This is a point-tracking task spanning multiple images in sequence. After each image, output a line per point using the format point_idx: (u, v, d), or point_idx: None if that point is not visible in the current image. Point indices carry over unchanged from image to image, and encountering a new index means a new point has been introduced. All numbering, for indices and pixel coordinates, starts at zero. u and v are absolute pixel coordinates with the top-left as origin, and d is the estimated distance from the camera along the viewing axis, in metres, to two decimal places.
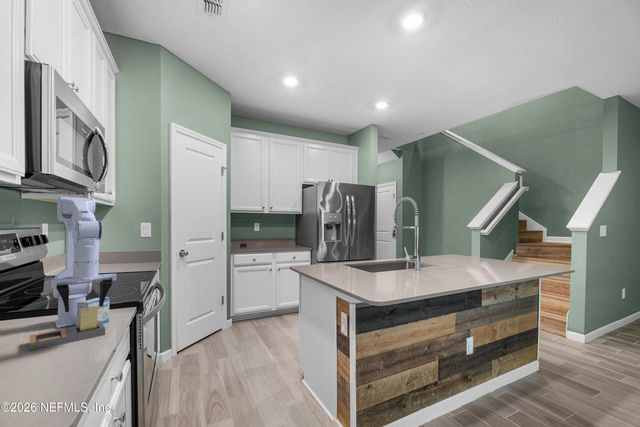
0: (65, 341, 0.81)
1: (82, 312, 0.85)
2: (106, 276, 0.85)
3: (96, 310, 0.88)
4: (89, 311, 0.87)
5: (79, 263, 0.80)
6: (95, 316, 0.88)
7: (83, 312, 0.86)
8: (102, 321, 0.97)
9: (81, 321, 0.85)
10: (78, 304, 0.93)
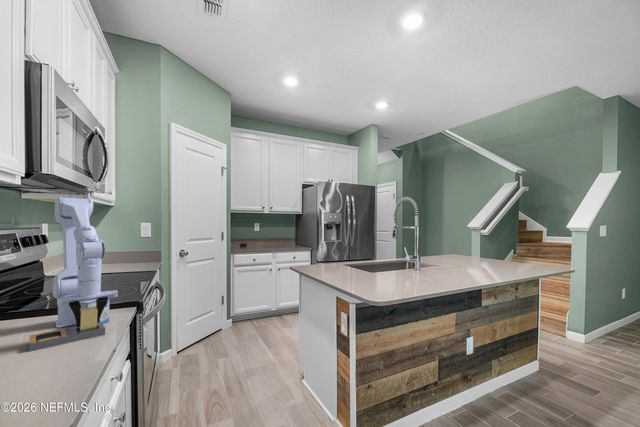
0: (65, 341, 0.81)
1: (82, 312, 0.85)
2: (108, 293, 0.91)
3: (96, 310, 0.88)
4: (89, 311, 0.87)
5: (83, 282, 0.86)
6: (95, 316, 0.88)
7: (83, 312, 0.86)
8: (102, 321, 0.97)
9: (81, 321, 0.85)
10: None
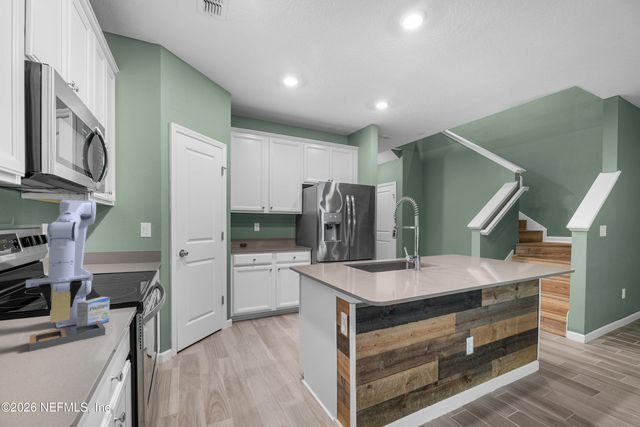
0: (65, 341, 0.81)
1: (53, 295, 0.81)
2: (82, 276, 0.86)
3: (69, 294, 0.83)
4: (61, 295, 0.82)
5: (54, 263, 0.81)
6: (68, 300, 0.83)
7: (54, 295, 0.81)
8: (102, 321, 0.97)
9: (52, 305, 0.81)
10: (78, 304, 0.93)
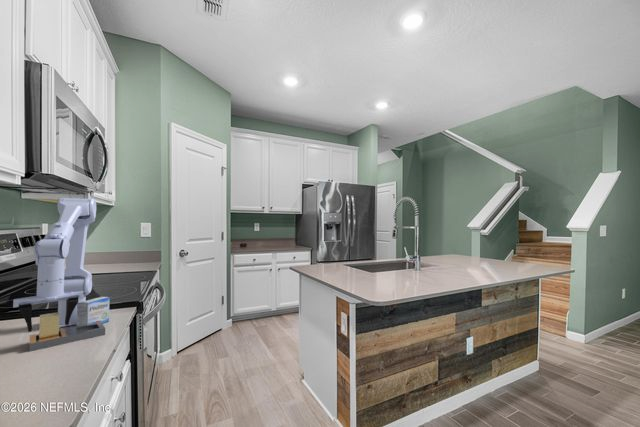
0: (65, 341, 0.81)
1: (41, 319, 0.79)
2: (72, 294, 0.84)
3: (58, 317, 0.81)
4: (50, 318, 0.80)
5: (42, 282, 0.79)
6: (56, 323, 0.81)
7: (43, 319, 0.79)
8: (102, 321, 0.97)
9: (40, 329, 0.79)
10: (78, 304, 0.93)
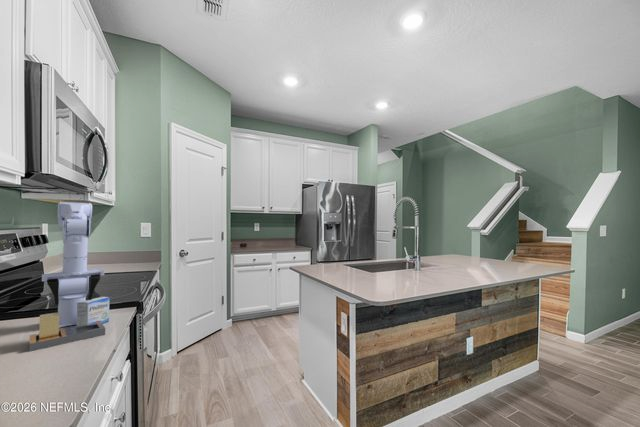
0: (65, 341, 0.81)
1: (41, 319, 0.79)
2: (94, 271, 0.90)
3: (58, 317, 0.81)
4: (49, 318, 0.80)
5: (68, 259, 0.85)
6: (56, 323, 0.81)
7: (42, 319, 0.79)
8: (102, 321, 0.97)
9: (40, 329, 0.79)
10: (78, 304, 0.93)
